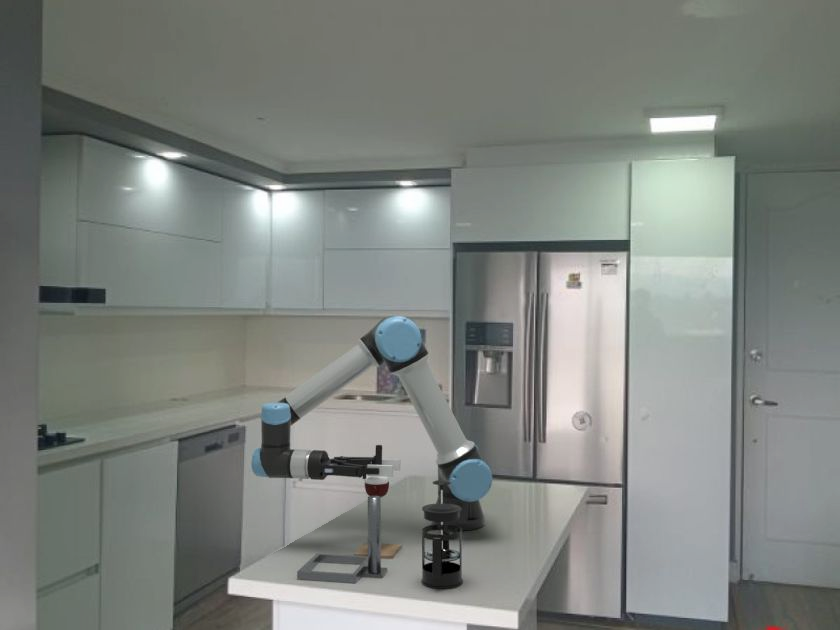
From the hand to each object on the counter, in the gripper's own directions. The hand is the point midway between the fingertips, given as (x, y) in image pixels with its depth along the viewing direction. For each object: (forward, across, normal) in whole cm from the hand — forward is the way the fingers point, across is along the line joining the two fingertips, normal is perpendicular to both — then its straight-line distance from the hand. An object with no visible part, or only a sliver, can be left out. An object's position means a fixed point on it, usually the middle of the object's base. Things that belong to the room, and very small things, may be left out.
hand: (396, 468), depth 202 cm
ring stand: (-8, +17, -22) cm, 29 cm away
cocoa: (-5, +1, -7) cm, 9 cm away
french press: (+15, +20, -22) cm, 33 cm away
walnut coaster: (-5, 0, -22) cm, 22 cm away
